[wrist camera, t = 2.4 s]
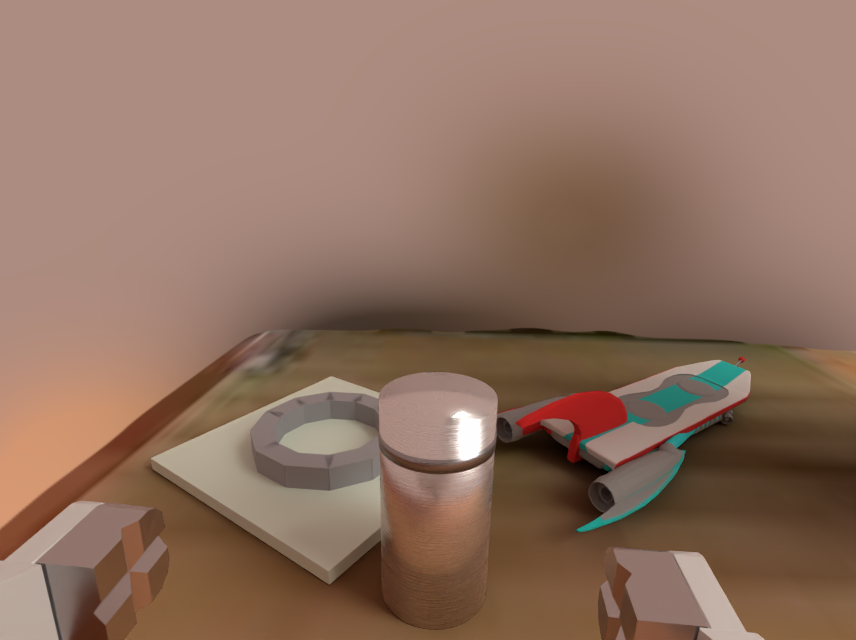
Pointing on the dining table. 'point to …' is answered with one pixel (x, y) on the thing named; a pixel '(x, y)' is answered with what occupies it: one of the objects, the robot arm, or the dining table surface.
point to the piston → (436, 495)
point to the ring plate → (278, 508)
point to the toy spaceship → (633, 429)
